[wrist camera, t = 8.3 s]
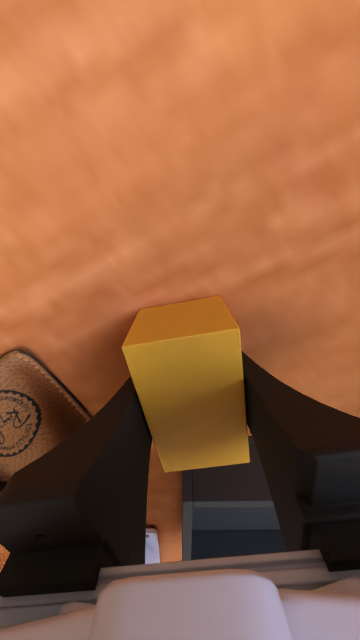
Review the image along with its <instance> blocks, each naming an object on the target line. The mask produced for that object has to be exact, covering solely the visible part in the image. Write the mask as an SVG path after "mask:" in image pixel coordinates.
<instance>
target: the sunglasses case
mask: <svg viewBox="0 0 360 640" xmlns="http://www.w3.org/2000/svg"><path fill="white" fill-rule="evenodd" d="M91 418H92V417H90V415H89V414H88V413H87V411H86V410H85V409H84V408H83V406H82V405H81V404H80V403H79V401H78V400H77V399H76V398H75V397H74V396H73V395H72V393H71V392H70V391H69V390H68V389H67V388H66V387H65V386H64V385H63V384H62V383H61V382H60V381H59V380H58V379H57V378H56V377H55V376H54V375H53V374H51V373H50V372H49V371H48V370H47V369H46V368H45V367H44V366H43V365H42V364H41V363H40V362H39V361H38V360H37V359H35V358H34V357H33V356H31V355H30V354H28V353H26V352H24V351H21V350H13V351H11V352H9V353H7V354H5V355H3V356H1V357H0V493H1V492H2V490H3V489H4V488H5V486H6V485H7V483H8V482H9V480H10V479H11V477H12V476H13V474H14V473H15V472H17V471H18V470H20V469H22V468H23V467H25V466H26V465H28V464H30V463H31V462H33V461H34V460H36V459H38V458H39V457H41V456H42V455H44V454H45V453H47V452H48V451H50V450H51V449H53V448H54V447H56V446H57V445H58V444H60V443H61V442H63V441H64V440H65V439H67V438H68V437H69V436H71V435H72V434H73V433H74V432H76V431H77V430H78V429H79V428H80V427H82V426H83V425H84V424H85V423H87V422H88V421H89V420H90V419H91Z"/></svg>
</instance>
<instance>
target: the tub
mask: <svg viewBox="0 0 360 640" xmlns="http://www.w3.org/2000/svg"><path fill="white" fill-rule="evenodd" d="M248 444H249V457H250V462H249V463H242V464H233V465H224V466H216V467H207V468H199V469H190V470H182V561H188V560H199V559H211V558H223V557H234V556H246V555H258V554H269V553H281V552H287V550H286V546H285V543H284V539H283V536H282V532H281V529H280V525H279V521H278V518H277V515H276V511H275V508H274V504H273V501H272V497H271V494H270V491H269V487H268V484H267V481H266V477H265V474H264V471H263V467H262V464H261V461H260V458H259V454H258V451H257V448H256V445H255V442H254V439H253V437H248Z"/></svg>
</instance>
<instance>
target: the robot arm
mask: <svg viewBox="0 0 360 640" xmlns="http://www.w3.org/2000/svg"><path fill="white" fill-rule="evenodd" d="M242 364H243V377H244V391H245V404H246V417H247V425H248V427H249V429H250V432H251V434H252V437H253V439H254V442H255V445H256V448H257V451H258V454H259V458H260V461H261V464H262V467H263V471H264V474H265V477H266V481H267V484H268V487H269V491H270V494H271V497H272V501H273V504H274V508H275V511H276V515H277V518H278V521H279V525H280V529H281V532H282V536H283V539H284V543H285V546H286V550H287V552H281V553H269V554H258V555H246V556H234V557H223V558H211V559H199V560H188V561H176V562H164V563H160V554H159V544H158V534H157V530H156V529H154V528H146V511H147V490H148V474H149V460H150V451H151V444H152V436H151V433H150V430H149V427H148V424H147V421H146V418H145V415H144V412H143V410H142V407H141V404H140V401H139V398H138V395H137V392H136V389H135V386H134V383H133V380H132V377H131V376H130V377H129V379H128V380H127V381H126V382H125V384H124V385H123V386H122V387H121V388H120V390H119V391H118V392H117V393H116V394H115V395H114V396H113V397H112V398H111V400H110V401H109V402H108V403H107V404H106V405H105V406H104V407H103V408H102V409H101V410H100V411H99V412H98V413H97V414H96V415H94V416H93V417H92V418H91V419H90V420H89V421H88V422H87V423H85V424H84V425H83V426H82V427H80V428H79V429H78V430H77V431H76V432H74V433H73V434H72V435H71V436H69V437H68V438H67V439H65V440H64V441H63V442H61V443H60V444H58V445H57V446H56V447H54V448H53V449H51V450H50V451H48V452H47V453H45V454H44V455H42V456H41V457H39V458H38V459H36V460H34V461H33V462H31V463H30V464H28V465H26V466H25V467H23V468H22V469H20V470H18V471H17V472H15V473H14V474H13V476H12V477H11V479H10V480H9V482H8V483H7V485H6V486H5V488H4V489H3V490H2V492H1V493H0V544H1V545H3V546H4V547H5V548H6V549H7V550H8V551H9V552H10V555H9V557H8V559H7V561H6V563H5V565H4V567H3V569H2V571H1V573H0V640H360V418H358V417H355V416H352V415H349V414H347V413H344V412H342V411H339V410H337V409H334V408H332V407H329V406H327V405H325V404H322V403H320V402H318V401H316V400H314V399H312V398H310V397H308V396H306V395H304V394H302V393H300V392H298V391H296V390H294V389H293V388H291V387H289V386H287V385H286V384H284V383H282V382H281V381H279V380H278V379H276V378H275V377H273V376H272V375H270V374H269V373H268V372H266V371H265V370H264V369H263V368H261V367H260V366H259V365H257V364H256V363H255V362H254V361H253V360H251V359H250V358H249V357H248V356H247V355H246V354H245V353H243V352H242Z"/></svg>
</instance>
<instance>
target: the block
mask: <svg viewBox="0 0 360 640" xmlns="http://www.w3.org/2000/svg"><path fill="white" fill-rule="evenodd" d="M121 348H122V351H123V354H124V357H125V360H126V363H127V366H128V369H129V372H130V375H131V377H132V380H133V383H134V386H135V389H136V392H137V395H138V398H139V401H140V404H141V407H142V410H143V412H144V415H145V418H146V421H147V424H148V427H149V430H150V433H151V436H152V439H153V442H154V445H155V447H156V450H157V453H158V456H159V459H160V462H161V465H162V468H163V471H164V472H173V471H182V470H190V469H199V468H207V467H216V466H224V465H233V464H242V463H249V462H250V457H249V444H248V430H247V417H246V404H245V391H244V377H243V364H242V351H241V337H240V328H239V327H238V325H237V323H236V322H235V320H234V318H233V317H232V315H231V313H230V312H229V310H228V308H227V306H226V305H225V303H224V301H223V300H222V298H221V296H213V297H207V298H202V299H196V300H190V301H184V302H179V303H173V304H167V305H161V306H156V307H150V308H144V309H140V310H139V312H138V314H137V316H136V318H135V320H134V322H133V324H132V326H131V328H130V330H129V332H128V334H127V337H126V339H125V341H124V343H123V345H122V347H121Z"/></svg>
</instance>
